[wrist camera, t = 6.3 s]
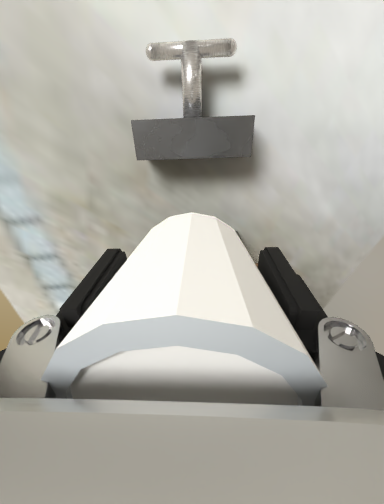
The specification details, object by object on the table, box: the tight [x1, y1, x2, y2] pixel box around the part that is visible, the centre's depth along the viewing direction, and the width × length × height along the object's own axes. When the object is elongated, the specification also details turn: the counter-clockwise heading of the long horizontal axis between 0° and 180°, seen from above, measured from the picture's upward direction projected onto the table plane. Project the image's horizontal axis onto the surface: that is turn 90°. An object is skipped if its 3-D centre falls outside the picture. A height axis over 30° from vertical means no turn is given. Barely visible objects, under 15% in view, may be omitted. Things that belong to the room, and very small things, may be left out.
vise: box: [131, 38, 255, 238], centre depth 21 cm, size 10×20×4 cm, turn 2°
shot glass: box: [41, 212, 328, 406], centre depth 8 cm, size 7×7×7 cm
